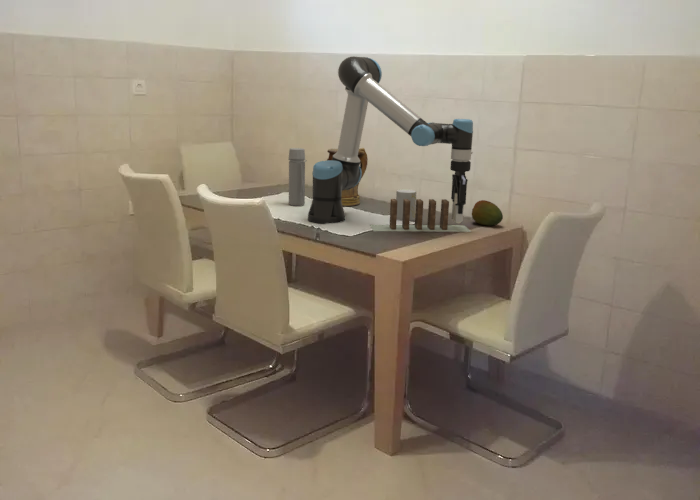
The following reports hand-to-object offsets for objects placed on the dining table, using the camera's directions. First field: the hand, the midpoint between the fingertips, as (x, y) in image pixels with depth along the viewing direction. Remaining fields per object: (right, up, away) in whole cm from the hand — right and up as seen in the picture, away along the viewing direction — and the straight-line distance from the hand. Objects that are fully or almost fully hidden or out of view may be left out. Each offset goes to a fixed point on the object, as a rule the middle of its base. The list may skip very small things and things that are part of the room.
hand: (457, 220), depth 264 cm
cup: (-19, +1, +16) cm, 25 cm away
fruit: (+14, -2, +11) cm, 17 cm away
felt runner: (-14, -4, 0) cm, 15 cm away
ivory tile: (0, -1, 0) cm, 1 cm away
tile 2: (-20, -3, -1) cm, 20 cm away
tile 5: (-5, -3, 0) cm, 6 cm away
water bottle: (-65, +8, +40) cm, 77 cm away
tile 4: (-10, -3, 0) cm, 11 cm away
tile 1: (-25, -3, -2) cm, 25 cm away
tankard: (-44, +10, +49) cm, 67 cm away
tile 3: (-15, -3, -1) cm, 16 cm away
